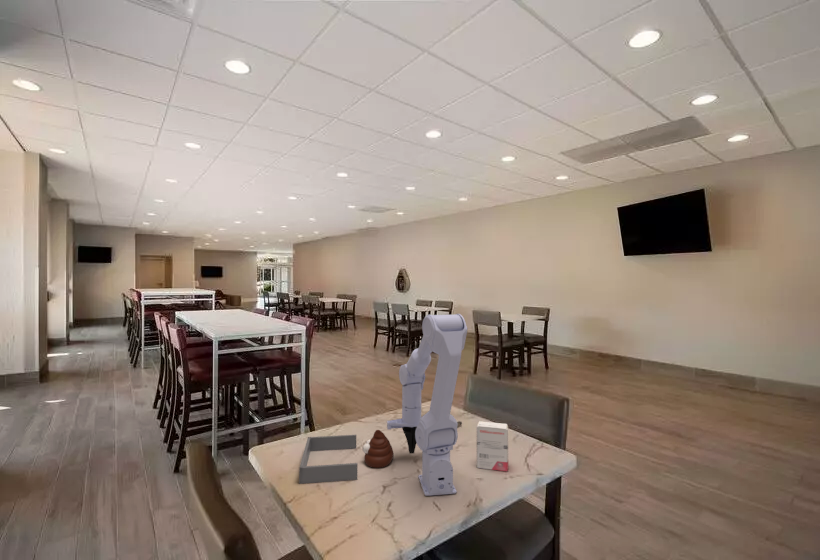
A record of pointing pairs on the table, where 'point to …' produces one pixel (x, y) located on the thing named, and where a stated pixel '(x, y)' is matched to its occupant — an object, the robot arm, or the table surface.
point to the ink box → (492, 446)
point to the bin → (327, 471)
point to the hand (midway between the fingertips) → (411, 451)
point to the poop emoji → (378, 451)
